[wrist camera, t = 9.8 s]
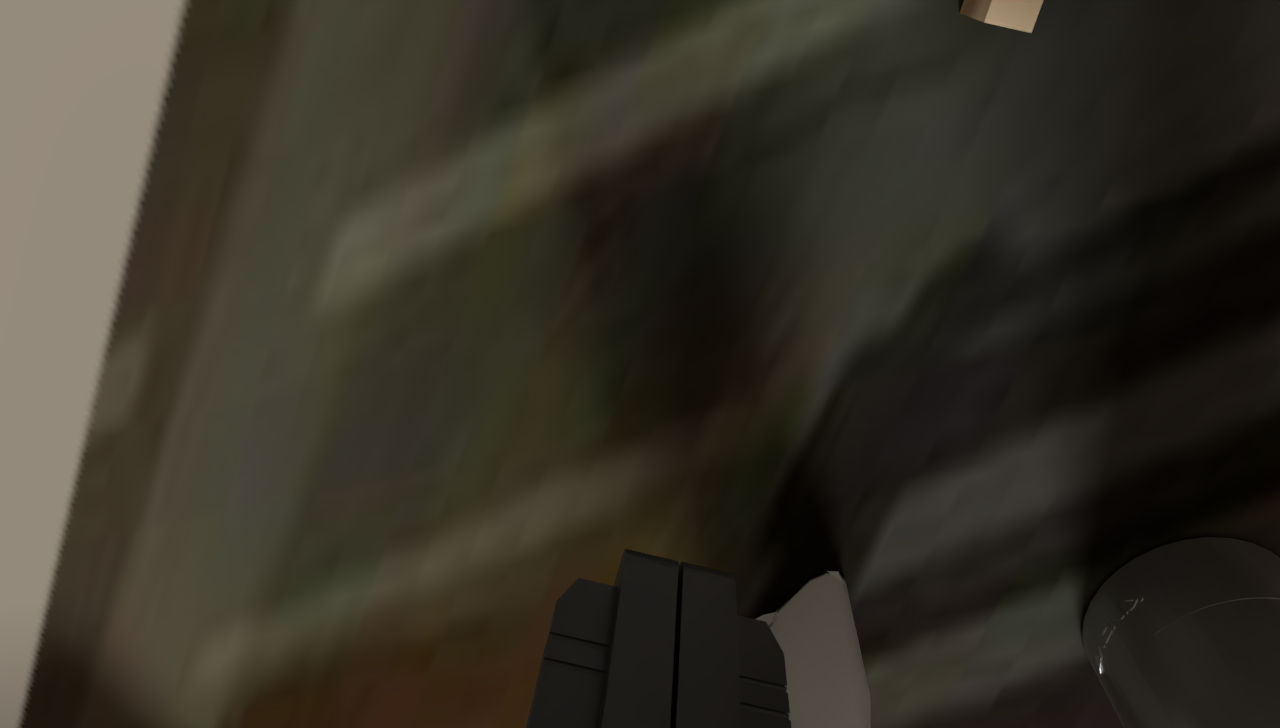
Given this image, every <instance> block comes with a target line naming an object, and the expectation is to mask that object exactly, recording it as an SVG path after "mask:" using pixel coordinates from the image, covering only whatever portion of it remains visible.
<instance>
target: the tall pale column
mask: <svg viewBox="0 0 1280 728" xmlns="http://www.w3.org/2000/svg"><path fill="white" fill-rule="evenodd" d="M756 619H757V620H761V621H765V622H767V624H768V626H769V628H770V629H771V631H772V633H773V635H774V637H775V638H776V640H777V642H778V644H779V645H780V647H781V649H782V651H783V652H784V657H785V667H786V677H787V690H786V692H787V693H788V698H789V708H790V715H789V720H791V728H870V694H869V689H868V685H867V680H866V675H865V670H864V666H863V661H862V656H861V651H860V647H859V642H858V637H857V632H856V628H855V624H854V619H853V615H852V610H851V605H850V601H849V596H848V591H847V586H846V582H845V579H844V578H843V576H842V575H841V574H840V573H839V572H836V571H825V572H823V573H821V574H818V575H816V576H813V577H811V578H809V579H808V580H807V581H806V582H805V583H804V584H803V585H802V586H801V587H800V588H799V589H798V590H797V591H796V592H795V593H794V594H793V595H792V596H791V597H790V598H789V599H788V600H787V601H786V602H785V603H784V604H782V605H781V606H780V607H779V608H778V609H777V610H776V612H773V613H769V614H764V615H762V616H760V617H758V618H756Z"/></svg>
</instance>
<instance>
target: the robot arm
mask: <svg viewBox="0 0 1280 728" xmlns="http://www.w3.org/2000/svg"><path fill="white" fill-rule="evenodd" d="M1082 638H1083V643H1084V649H1085V653H1086V654H1087V656H1088V658H1089V660H1090V662H1091V664H1092V666H1093V668H1094V670H1095V672H1096V674H1097V676H1098V678H1099V680H1100V682H1101V684H1102V686H1103V688H1104V690H1105V692H1106V694H1107V695H1108V697H1109V699H1110V701H1111V703H1112V705H1113V707H1114V709H1115V711H1116V713H1117V715H1118V717H1119V719H1120V721H1121V723H1122V725H1123V727H1124V728H1280V558H1279V557H1278V556H1277V555H1275V554H1274V553H1273V552H1271V551H1270V550H1267V549H1265V548H1263V547H1261V546H1258V545H1256V544H1254V543H1251V542H1247V541H1242V540H1237V539H1233V538H1218V537H1203V538H1196V539H1188V540H1181V541H1178V542H1174V543H1171V544H1167V545H1164V546H1160V547H1158V548H1155V549H1153V550H1151V551H1149V552H1147V553H1145V554H1143V555H1140V556H1138V557H1136V558H1135V559H1133V560H1132V561H1130V562H1129V563H1127V564H1126V565H1124V566H1123V567H1121V568H1120V569H1119V570H1117V571H1116V572H1115V573H1114V574H1113V575H1112V576H1111V577H1110V578H1109V579H1108V580H1107V581H1106V582H1105V583H1104V584H1103V585H1102V586H1101V587H1100V589H1099V590H1098V592H1097V593H1096V595H1095V596H1094V598H1093V599H1092V600H1091V602H1090V605H1089V607H1088V610H1087V612H1086V615H1085V617H1084V623H1083V632H1082ZM786 690H787V677H786V667H785V657H784V652H783V651H782V649H781V647H780V645H779V644H778V642H777V640H776V638H775V637H774V635H773V633H772V631H771V629H770V628H769V626H768V624H767V622H765V621H761V620H757V619H752V618H748V617H744V616H740V615H737V592H736V578H735V575H734V574H731V573H727V572H722V571H718V570H714V569H710V568H705V567H701V566H697V565H693V564H688V563H684V562H681V563H680V565H679V567H678V561H675V560H670V559H666V558H662V557H658V556H653V555H649V554H645V553H641V552H636V551H632V550H628V549H625V550H624V553H623V556H622V559H621V562H620V566H619V569H618V573H617V576H616V580H615V583H614V586H610V585H606V584H602V583H597V582H593V581H589V580H585V579H580V578H578V579H577V580H576V581H575V582H574V584H573V585H572V586H571V587H570V588H569V589H568V590H567V591H566V592H565V593H564V594H563V595H562V596H561V597H560V598H559V599H558V600H557V603H556V607H555V611H554V615H553V619H552V623H551V627H550V631H549V635H548V639H547V643H546V647H545V651H544V655H543V659H542V663H541V667H540V671H539V675H538V679H537V683H536V687H535V692H534V696H533V700H532V704H531V709H530V713H529V717H528V722H527V726H526V728H791V720H789V715H790V708H789V698H788V693H787V692H786Z"/></svg>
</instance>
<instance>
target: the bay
mask: <svg viewBox="0 0 1280 728" xmlns="http://www.w3.org/2000/svg"><path fill="white" fill-rule="evenodd" d="M1042 3H1043V0H964V2H963V5H962V8H961V11H960V14H962V15H965V16H968V17H970V18H973V19H976V20H979V21H981V22H984V23H989V24H993V25H998V26H1002V27H1006V28H1011V29H1015V30H1020V31H1024V32H1029V33H1032V30H1033V27H1034V25H1035V22H1036V19H1037V17H1038V14H1039V11H1040V9H1041V6H1042Z"/></svg>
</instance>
